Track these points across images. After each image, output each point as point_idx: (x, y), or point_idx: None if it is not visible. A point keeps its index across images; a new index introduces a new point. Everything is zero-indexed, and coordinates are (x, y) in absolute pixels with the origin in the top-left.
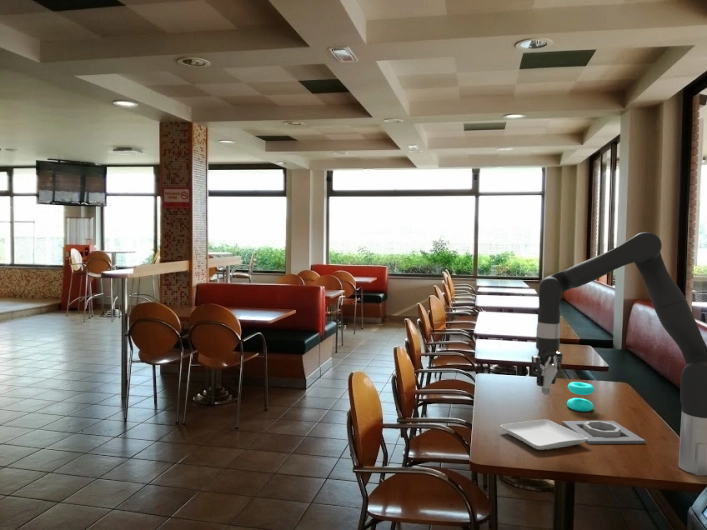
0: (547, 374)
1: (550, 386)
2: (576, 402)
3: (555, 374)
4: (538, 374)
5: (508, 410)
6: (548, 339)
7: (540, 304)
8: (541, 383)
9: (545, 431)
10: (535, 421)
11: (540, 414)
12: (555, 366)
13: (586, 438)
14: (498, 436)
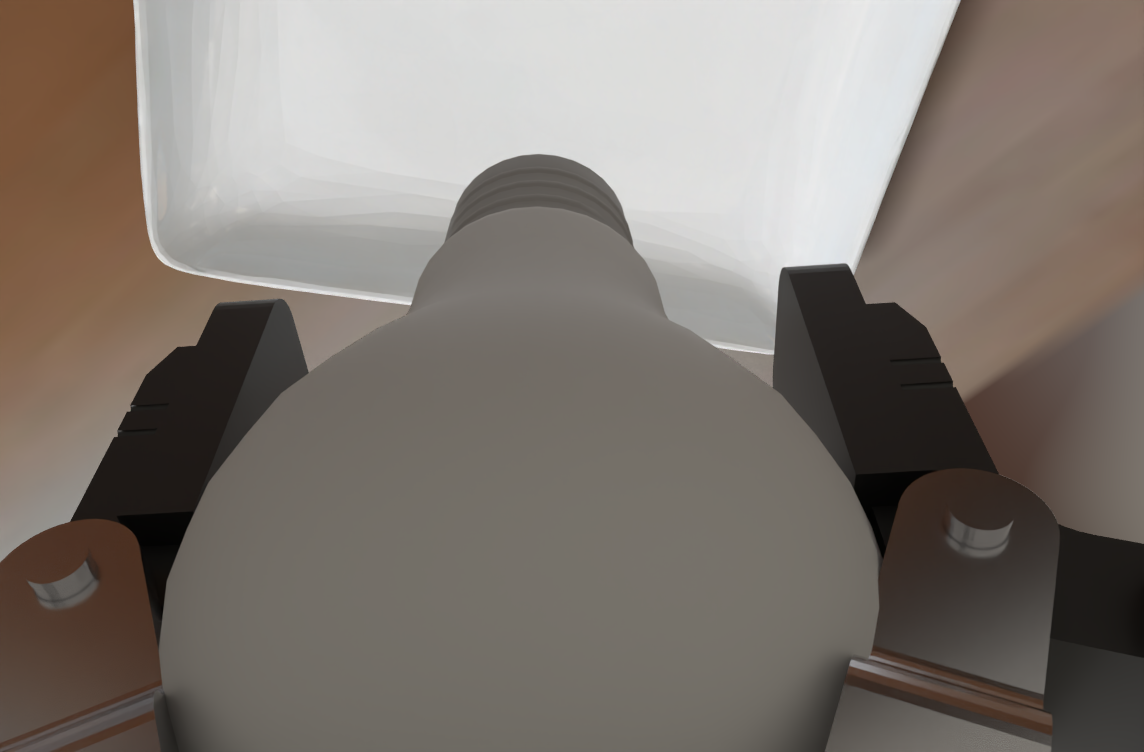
0: (805, 437)
1: (494, 224)
2: None
3: (354, 366)
4: (1096, 562)
5: None
6: None
7: None
8: (860, 324)
9: (353, 86)
10: (339, 278)
11: (12, 468)
12: (119, 740)
13: None
14: (909, 236)
